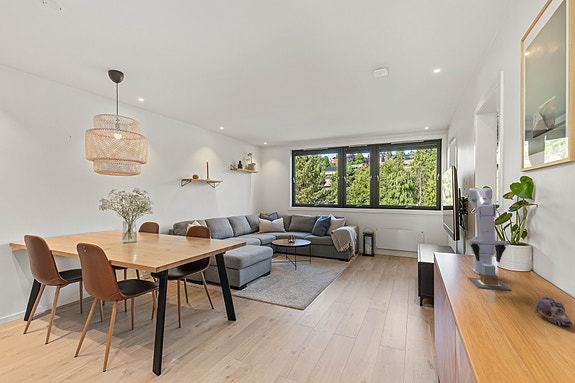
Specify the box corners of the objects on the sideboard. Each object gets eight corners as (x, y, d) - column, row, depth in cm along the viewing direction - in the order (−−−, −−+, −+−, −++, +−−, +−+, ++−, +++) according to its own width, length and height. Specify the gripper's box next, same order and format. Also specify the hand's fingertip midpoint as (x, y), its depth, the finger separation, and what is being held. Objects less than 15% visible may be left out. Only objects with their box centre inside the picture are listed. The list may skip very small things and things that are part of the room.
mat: (468, 278, 129) (468, 277, 129) (498, 280, 125) (498, 279, 125) (478, 288, 116) (478, 286, 116) (512, 290, 112) (511, 289, 112)
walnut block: (480, 280, 123) (480, 272, 124) (493, 281, 122) (493, 272, 122) (484, 284, 119) (484, 275, 119) (497, 285, 117) (497, 276, 117)
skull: (581, 332, 79) (580, 311, 79) (546, 326, 82) (545, 306, 82) (562, 315, 89) (561, 297, 89) (532, 311, 93) (531, 293, 93)
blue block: (481, 272, 123) (481, 263, 123) (492, 273, 122) (491, 264, 122) (484, 274, 119) (484, 265, 119) (495, 275, 118) (495, 266, 118)
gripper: (470, 231, 120) (471, 262, 119) (510, 232, 115) (511, 264, 114) (466, 229, 126) (467, 258, 126) (503, 230, 121) (504, 260, 121)
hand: (487, 261), depth 121 cm, fingers open, 7 cm apart
